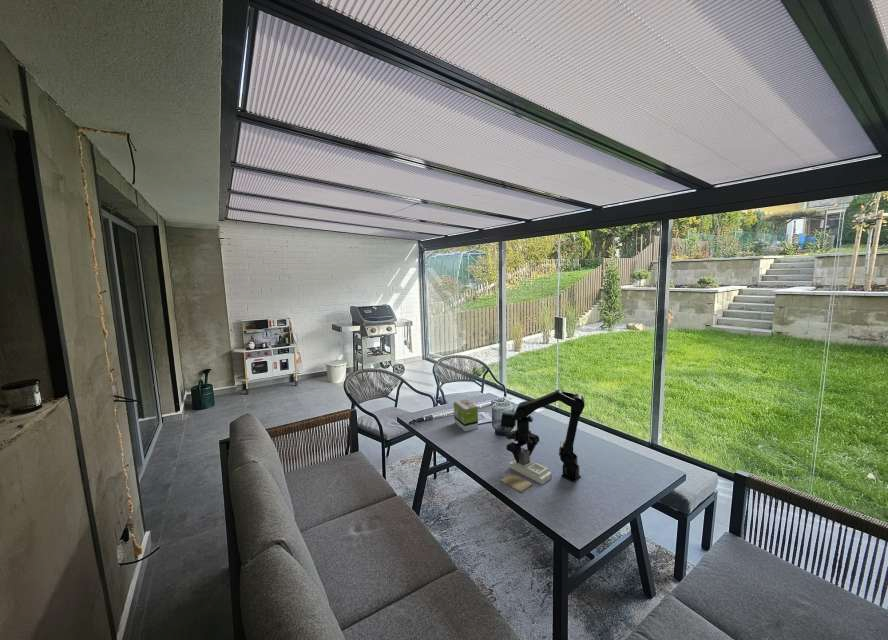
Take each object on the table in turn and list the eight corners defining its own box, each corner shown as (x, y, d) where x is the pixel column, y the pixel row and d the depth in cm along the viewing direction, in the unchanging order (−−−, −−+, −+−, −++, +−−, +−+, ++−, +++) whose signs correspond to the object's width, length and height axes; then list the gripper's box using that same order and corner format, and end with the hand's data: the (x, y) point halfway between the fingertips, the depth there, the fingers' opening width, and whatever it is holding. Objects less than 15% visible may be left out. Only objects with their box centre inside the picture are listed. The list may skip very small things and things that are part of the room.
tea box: (453, 423, 224) (453, 401, 222) (467, 420, 228) (466, 398, 226) (464, 432, 210) (464, 409, 208) (478, 428, 214) (478, 406, 213)
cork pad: (532, 485, 154) (532, 484, 154) (521, 492, 149) (521, 491, 149) (511, 474, 163) (511, 473, 163) (500, 480, 158) (500, 479, 158)
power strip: (551, 477, 159) (551, 469, 159) (542, 484, 154) (542, 476, 154) (519, 462, 174) (519, 454, 173) (509, 467, 169) (509, 459, 168)
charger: (529, 464, 166) (529, 450, 166) (524, 467, 164) (524, 453, 163) (522, 461, 170) (522, 447, 169) (516, 464, 167) (516, 450, 166)
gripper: (521, 418, 177) (521, 447, 179) (497, 429, 165) (498, 460, 167) (539, 425, 168) (540, 455, 170) (515, 437, 156) (516, 469, 158)
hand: (523, 459), depth 166 cm, fingers open, 9 cm apart
